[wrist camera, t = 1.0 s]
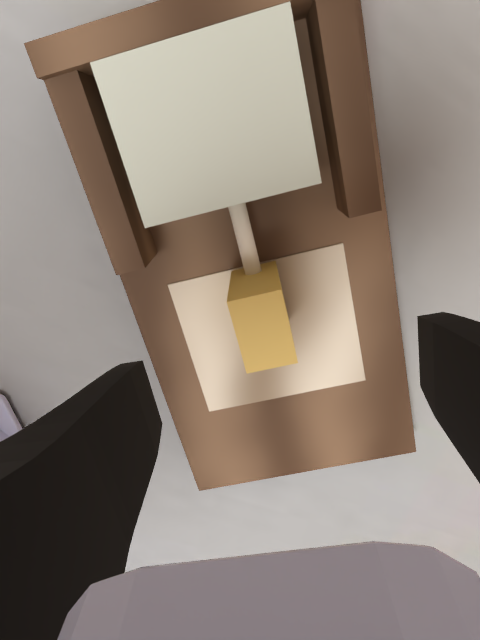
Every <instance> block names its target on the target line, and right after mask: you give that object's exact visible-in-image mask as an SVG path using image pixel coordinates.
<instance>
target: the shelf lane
mask: <svg viewBox="0 0 480 640" xmlns="http://www.w3.org/2000/svg"><path fill="white" fill-rule="evenodd" d="M289 1H290V3H291V9H292V15H293V21H294V26H295V32H296V38H297V44H298V49H299V55H300V61H301V67H302V72H303V78H304V84H305V90H306V95H307V101H308V107H309V113H310V118H311V124H312V130H313V136H314V141H315V147H316V153H317V159H318V164H319V170H320V176H321V182H322V183H320V184H316V185H312V186H308V187H304V188H301V189H297V190H293V191H289V192H285V193H281V194H277V195H273V196H269V197H265V198H261V199H258V200H254V201H250V202H246V208H247V212H248V216H249V220H250V224H251V228H252V232H253V237H254V241H255V245H256V249H257V253H258V257H259V262H260V264H263V263H267V262H271V261H276V264H277V269H278V273H279V278H280V282H281V287H282V291H283V295H284V300H285V304H286V309H287V313H288V318H289V322H290V327H291V331H292V336H293V341H294V346H295V350H296V355H297V360H298V363H296V364H291V365H286V366H281V367H277V368H272V369H267V370H262V371H257V372H253V373H248V374H247V373H246V370H245V366H244V362H243V359H242V355H241V352H240V348H239V345H238V341H237V337H236V334H235V330H234V327H233V323H232V319H231V316H230V312H229V309H228V305H227V296H228V290H229V283H230V277H231V271H234V270H238V269H242V268H244V267H243V263H242V259H241V255H240V251H239V248H238V244H237V240H236V236H235V232H234V228H233V224H232V220H231V216H230V212H229V208H228V207H226V208H222V209H218V210H214V211H211V212H207V213H203V214H199V215H195V216H191V217H187V218H183V219H179V220H175V221H171V222H167V223H164V224H160V225H156V226H152V227H148V228H145V227H144V224H143V221H142V218H141V215H140V212H139V209H138V206H137V203H136V200H135V197H134V194H133V191H132V188H131V185H130V182H129V179H128V176H127V173H126V170H125V167H124V164H123V161H122V158H121V155H120V152H119V149H118V146H117V143H116V140H115V137H114V134H113V131H112V128H111V125H110V122H109V119H108V116H107V113H106V110H105V107H104V104H103V101H102V98H101V95H100V92H99V89H98V86H97V83H96V80H95V77H94V74H93V71H92V68H91V65H90V62H93V61H97V60H100V59H103V58H106V57H110V56H113V55H116V54H119V53H123V52H126V51H129V50H133V49H136V48H139V47H142V46H146V45H149V44H152V43H155V42H159V41H162V40H165V39H168V38H172V37H175V36H178V35H182V34H185V33H188V32H191V31H195V30H198V29H201V28H204V27H208V26H211V25H214V24H217V23H221V22H224V21H227V20H231V19H234V18H237V17H240V16H244V15H247V14H250V13H253V12H257V11H260V10H263V9H266V8H270V7H273V6H276V5H280V4H283V3H286V2H289ZM24 45H25V47H26V50H27V53H28V55H29V58H30V61H31V63H32V66H33V69H34V71H35V74H36V77H37V78H38V79H42V80H44V82H45V85H46V87H47V90H48V93H49V95H50V98H51V101H52V103H53V106H54V109H55V111H56V114H57V117H58V120H59V122H60V125H61V128H62V130H63V133H64V136H65V138H66V141H67V144H68V146H69V149H70V152H71V155H72V157H73V160H74V163H75V165H76V168H77V171H78V173H79V176H80V179H81V181H82V184H83V187H84V190H85V192H86V195H87V198H88V200H89V203H90V206H91V208H92V211H93V214H94V216H95V219H96V222H97V225H98V227H99V230H100V233H101V235H102V238H103V241H104V243H105V246H106V249H107V252H108V254H109V257H110V260H111V262H112V265H113V268H114V270H115V273H116V275H120V277H121V280H122V282H123V285H124V288H125V290H126V293H127V296H128V299H129V301H130V304H131V307H132V309H133V312H134V315H135V318H136V320H137V323H138V326H139V329H140V331H141V334H142V337H143V339H144V342H145V345H146V348H147V350H148V353H149V356H150V358H151V361H152V364H153V367H154V369H155V372H156V375H157V377H158V380H159V383H160V386H161V388H162V391H163V394H164V396H165V399H166V402H167V405H168V407H169V410H170V413H171V415H172V418H173V421H174V424H175V426H176V429H177V432H178V434H179V437H180V440H181V443H182V445H183V448H184V451H185V453H186V456H187V459H188V462H189V464H190V467H191V470H192V472H193V475H194V478H195V481H196V483H197V486H198V489H199V491H200V490H206V489H212V488H217V487H223V486H228V485H234V484H239V483H245V482H250V481H256V480H262V479H267V478H273V477H278V476H284V475H289V474H295V473H300V472H306V471H312V470H317V469H323V468H328V467H334V466H339V465H345V464H350V463H356V462H362V461H367V460H373V459H378V458H384V457H389V456H395V455H401V454H406V453H412V452H416V447H415V438H414V430H413V422H412V414H411V406H410V398H409V390H408V382H407V374H406V365H405V357H404V349H403V341H402V333H401V325H400V317H399V309H398V301H397V293H396V284H395V276H394V268H393V260H392V252H391V244H390V236H389V228H388V220H387V211H386V203H385V195H384V187H383V179H382V171H381V163H380V155H379V147H378V139H377V130H376V122H375V114H374V106H373V98H372V90H371V82H370V74H369V66H368V57H367V49H366V41H365V33H364V25H363V17H362V9H361V1H360V0H159V1H156V2H153V3H150V4H147V5H143V6H140V7H137V8H134V9H131V10H128V11H124V12H121V13H118V14H115V15H112V16H109V17H106V18H102V19H99V20H96V21H93V22H90V23H87V24H84V25H80V26H77V27H74V28H71V29H68V30H65V31H61V32H58V33H55V34H52V35H49V36H46V37H43V38H39V39H36V40H33V41H30V42H27V43H24Z"/></svg>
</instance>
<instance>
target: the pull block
mask: <svg viewBox="0 0 480 640" xmlns="http://www.w3.org/2000/svg"><path fill="white" fill-rule="evenodd" d="M90 65H91V68H92V71H93V74H94V77H95V80H96V83H97V86H98V89H99V92H100V95H101V98H102V101H103V104H104V107H105V110H106V113H107V116H108V119H109V122H110V125H111V128H112V131H113V134H114V137H115V140H116V143H117V146H118V149H119V152H120V155H121V158H122V161H123V164H124V167H125V170H126V173H127V176H128V179H129V182H130V185H131V188H132V191H133V194H134V197H135V200H136V203H137V206H138V209H139V212H140V215H141V218H142V221H143V224H144V227H145V228H148V227H152V226H156V225H160V224H164V223H167V222H171V221H175V220H179V219H183V218H187V217H191V216H195V215H199V214H203V213H207V212H211V211H214V210H218V209H222V208H226V207H228V208H229V212H230V216H231V220H232V224H233V228H234V232H235V236H236V240H237V244H238V248H239V251H240V255H241V259H242V263H243V267H244V268H242V269H238V270H234V271H231V277H230V283H229V290H228V296H227V305H228V309H229V312H230V316H231V319H232V323H233V327H234V330H235V334H236V337H237V341H238V345H239V348H240V352H241V355H242V359H243V362H244V366H245V370H246V373H247V374H248V373H253V372H257V371H262V370H267V369H272V368H277V367H281V366H286V365H291V364H296V363H298V360H297V355H296V350H295V346H294V341H293V336H292V331H291V327H290V322H289V318H288V313H287V309H286V304H285V300H284V295H283V291H282V287H281V282H280V278H279V273H278V269H277V264H276V261H271V262H267V263H263V264H260V262H259V257H258V253H257V249H256V245H255V241H254V237H253V232H252V228H251V224H250V220H249V216H248V212H247V208H246V202H250V201H254V200H258V199H261V198H265V197H269V196H273V195H277V194H281V193H285V192H289V191H293V190H297V189H301V188H304V187H308V186H312V185H316V184H320V183H322V182H321V176H320V170H319V164H318V159H317V153H316V147H315V141H314V136H313V130H312V124H311V118H310V113H309V107H308V101H307V95H306V90H305V84H304V78H303V72H302V67H301V61H300V55H299V49H298V44H297V38H296V32H295V26H294V21H293V15H292V9H291V3H290V1H289V2H286V3H283V4H280V5H276V6H273V7H270V8H266V9H263V10H260V11H257V12H253V13H250V14H247V15H244V16H240V17H237V18H234V19H231V20H227V21H224V22H221V23H217V24H214V25H211V26H208V27H204V28H201V29H198V30H195V31H191V32H188V33H185V34H182V35H178V36H175V37H172V38H168V39H165V40H162V41H159V42H155V43H152V44H149V45H146V46H142V47H139V48H136V49H133V50H129V51H126V52H123V53H119V54H116V55H113V56H110V57H106V58H103V59H100V60H97V61H93V62H90Z"/></svg>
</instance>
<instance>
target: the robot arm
mask: <svg viewBox="0 0 480 640" xmlns="http://www.w3.org/2000/svg"><path fill="white" fill-rule="evenodd" d="M417 317H418V341H419V364H420V386H421V388H422V391H423V393H424V395H425V397H426V399H427V401H428V404H429V406H430V408H431V410H432V412H433V414H434V416H435V418H436V419H437V421H438V422H439V424H440V425H441V427H442V428H443V430H444V431H445V433H446V434H447V436H448V437H449V439H450V440H451V442H452V443H453V445H454V446H455V448H456V449H457V451H458V452H459V454H460V455H461V456H462V458H463V459H464V461H465V462H466V464H467V465H468V467H469V468H470V470H471V471H472V473H473V474H474V476H475V477H476V478H477V480H478V481H479V483H480V322H478V321H474V320H471V319H468V318H465V317H461V316H458V315H454V314H450V313H444V312H441V313H435V314H429V315H422V316H417ZM161 429H162V421H161V418H160V415H159V411H158V408H157V405H156V402H155V399H154V395H153V392H152V389H151V386H150V383H149V380H148V376H147V373H146V370H145V367H144V364H143V361H137V362H130V363H124V364H120V365H118V366H116V367H114V368H112V369H111V370H109V371H108V372H106V373H105V374H103V375H102V376H100V377H99V378H97V379H96V380H95V381H93V382H92V383H90V384H89V385H88V386H86V387H85V388H83V389H82V390H81V391H79V392H78V393H76V394H75V395H74V396H72V397H71V398H69V399H68V400H66V401H65V402H64V403H62V404H61V405H59V406H58V407H56V408H55V409H53V410H52V411H50V412H49V413H47V414H46V415H44V416H43V417H41V418H40V419H38V420H37V421H35V422H33V423H32V424H30V425H29V426H27V427H25V428H24V429H22V427H21V425H20V423H19V421H18V419H17V418H16V416H15V414H14V412H13V410H12V408H11V406H10V404H9V402H8V400H7V399H6V397H5V396H4V395H2V394H0V640H480V578H479V576H478V574H477V572H476V571H474V570H472V569H470V568H469V567H467V566H465V565H464V564H462V563H460V562H458V561H457V560H455V559H453V558H451V557H450V556H448V555H446V554H444V553H443V552H441V551H439V550H437V549H436V548H434V547H429V546H425V545H414V544H401V543H388V542H375V541H372V542H363V543H354V544H345V545H336V546H327V547H318V548H309V549H299V550H290V551H281V552H272V553H263V554H254V555H245V556H236V557H227V558H218V559H209V560H200V561H191V562H182V563H173V564H164V565H155V566H146V567H141V568H138V569H135V570H132V571H129V572H126V573H124V572H125V567H126V562H127V557H128V552H129V547H130V544H131V540H132V536H133V532H134V529H135V526H136V523H137V519H138V516H139V513H140V510H141V507H142V504H143V501H144V497H145V494H146V491H147V488H148V485H149V482H150V478H151V475H152V472H153V469H154V465H155V462H156V459H157V455H158V449H159V443H160V436H161Z"/></svg>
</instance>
